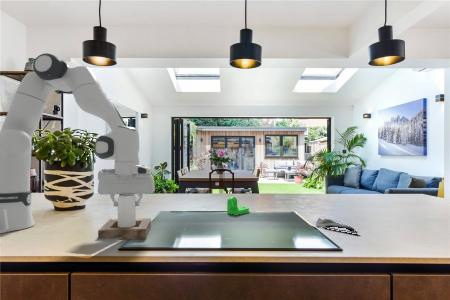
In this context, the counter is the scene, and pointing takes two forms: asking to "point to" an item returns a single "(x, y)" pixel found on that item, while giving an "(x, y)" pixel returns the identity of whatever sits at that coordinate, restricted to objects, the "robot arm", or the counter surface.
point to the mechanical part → (235, 207)
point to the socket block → (125, 230)
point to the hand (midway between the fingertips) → (126, 205)
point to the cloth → (332, 225)
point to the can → (126, 210)
